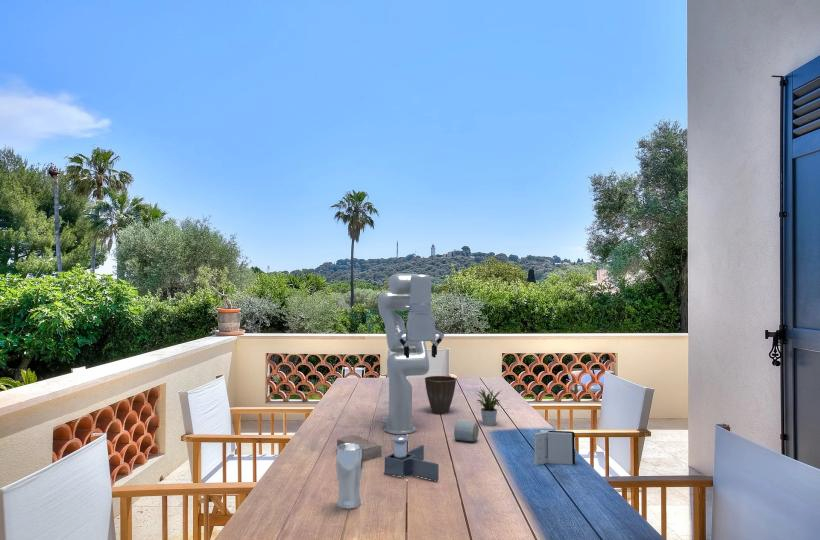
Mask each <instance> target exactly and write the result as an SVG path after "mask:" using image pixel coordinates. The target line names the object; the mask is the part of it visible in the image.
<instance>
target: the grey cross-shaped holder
mask: <svg viewBox="0 0 820 540" xmlns="http://www.w3.org/2000/svg"><path fill="white" fill-rule="evenodd" d="M423 460H424V461H423ZM439 467H440V466H439V463H436V462H432V461H426V460H425V445H423V444H422V445H419V446H417V447H415V448H413V449H410V450H409V451H407V458H406V459H404V460H400V459H395V458H394V452H392V453H391V454H388V455H386V456H384V474H385V475H388V474H391V475H390V476H392V475H395V476H394V477H396V476H401V477H404V476H406V477H408V476H410V475H413V476H412V477H415V476H419V477H423V478H427V479H431V480H436V481H438V480H439V475H440V474H439ZM419 477H418V478H419ZM423 478H422V479H423ZM427 479H426V480H427ZM431 480H430V481H431ZM436 481H435V482H436ZM439 481H440V480H439ZM439 481H438V482H439Z"/></svg>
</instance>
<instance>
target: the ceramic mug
mask: <svg viewBox="0 0 820 540" xmlns="http://www.w3.org/2000/svg"><path fill="white" fill-rule="evenodd" d="M454 423H455V424H454V432H453V436H454V439H455V440H456V441H463V442H471V443H472V442H473V443H474V442H477V441H478V437H479V431H480V430H479V428H480V427H479V424H478V423H477V422H475V421H469V420H465V419H459V418H458V419H456V421H455V422H454Z"/></svg>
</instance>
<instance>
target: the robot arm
mask: <svg viewBox="0 0 820 540" xmlns="http://www.w3.org/2000/svg"><path fill="white" fill-rule="evenodd" d="M388 289H389V290H387V291H383V292H381V293H380V294H379V295H378V297H377V307H378V313H379V315H380V318H381V319H382V322H383V323H384V329H385V335H386V342H387V347H388V350H389V351H390V352H392V353H391V354H389V355H388V356H387V359H386V368H387V376H388V417H382V420H381V423H382V424H386V426H385V427H384V431H385V432H386V433H387V434H392V435H409V434H412V433H415V432H416V431H417V430H416V429H417V427H416V426H415V425H413V387H412V384H411V382H410V381H409V380H408V379H407V377H410V376H413V377H414V376H416V377H417V376H425V375H426V374H428V372H429V370H430V361H429V355H428V349H427V344H426V342H431V344H432V345H431V357H432V358H437V355H438V346H439V344H440V343H441V342H442V341H443V339H444V336H445V333H444V332H442V331H440V330H438V329H436V320H435V315H434V313H433V312H432V278H431V275H429V274H419V273H404V272H403V273H400V272H399V273H395V274H392V275H391V276H390V278H389V280H388ZM396 311H409V312H408V314H407V318H406V326H405V321H404V319H403V318H402V317H401V316H400V315H399V314H398V313H397V312H396ZM437 335H438V338H437V339H436V337H437Z"/></svg>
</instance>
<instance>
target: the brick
mask: <svg viewBox="0 0 820 540" xmlns="http://www.w3.org/2000/svg"><path fill="white" fill-rule="evenodd" d="M345 443H357V444H360V445H362V456H363V462H366V461H370V460H373V459H378V458H379V459H380V458H382V453H383V450H382V444H379V443H377V442H374V441H371V440H367V439H366V438H363V437H362V436H360V435H359V434H350V435H349V434H348V435H346V436H342V437H339V438H337V439H336V448H337V447H338V446H339V445H341V444H345Z"/></svg>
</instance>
